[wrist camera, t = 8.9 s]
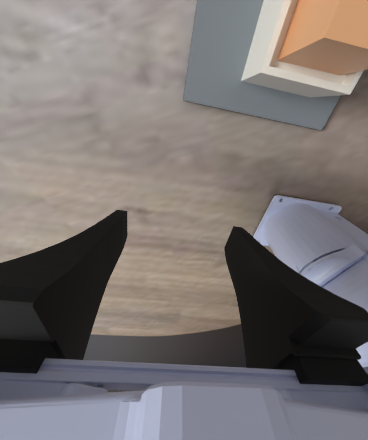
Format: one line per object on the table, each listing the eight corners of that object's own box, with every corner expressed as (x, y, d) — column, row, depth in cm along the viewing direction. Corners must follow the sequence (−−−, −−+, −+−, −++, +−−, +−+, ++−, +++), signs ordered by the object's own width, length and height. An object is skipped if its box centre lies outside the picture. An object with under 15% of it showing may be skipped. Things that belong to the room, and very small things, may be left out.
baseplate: (388, -5, 13) (399, -11, 12) (316, 129, 18) (321, 130, 17) (206, -65, 11) (207, -75, 11) (182, 100, 16) (183, 100, 15)
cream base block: (364, -18, 12) (446, -73, 8) (310, 97, 15) (350, 94, 12) (276, -47, 11) (323, -122, 7) (240, 81, 15) (260, 72, 11)
